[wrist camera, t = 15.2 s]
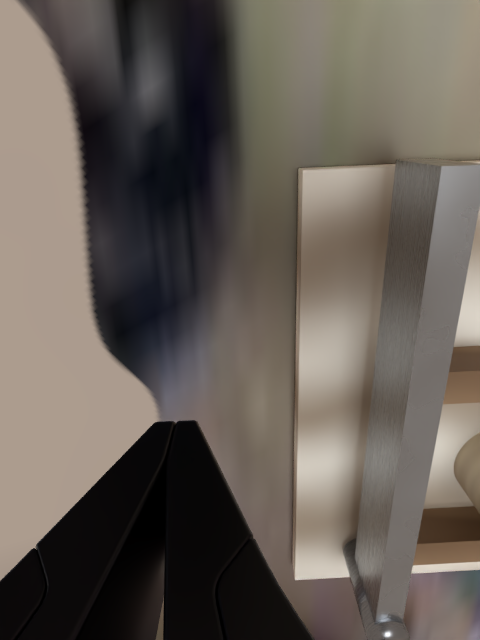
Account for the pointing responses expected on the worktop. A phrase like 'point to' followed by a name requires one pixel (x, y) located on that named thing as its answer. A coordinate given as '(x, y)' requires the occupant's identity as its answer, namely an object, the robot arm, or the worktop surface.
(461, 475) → the pivot pin
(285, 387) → the worktop surface
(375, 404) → the bar
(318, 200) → the cradle
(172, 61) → the worktop surface
